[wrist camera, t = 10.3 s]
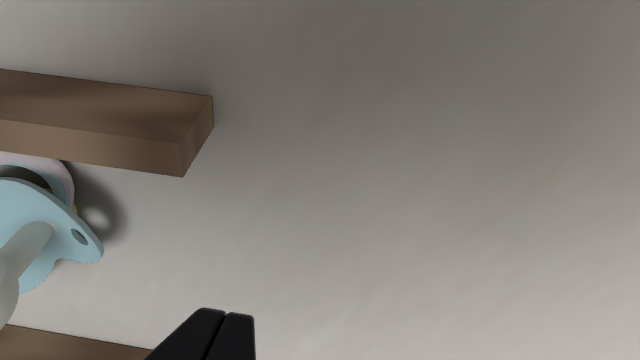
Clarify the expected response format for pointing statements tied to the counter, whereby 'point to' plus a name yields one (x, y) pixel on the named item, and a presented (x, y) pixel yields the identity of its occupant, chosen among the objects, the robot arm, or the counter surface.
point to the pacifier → (38, 228)
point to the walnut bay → (95, 160)
